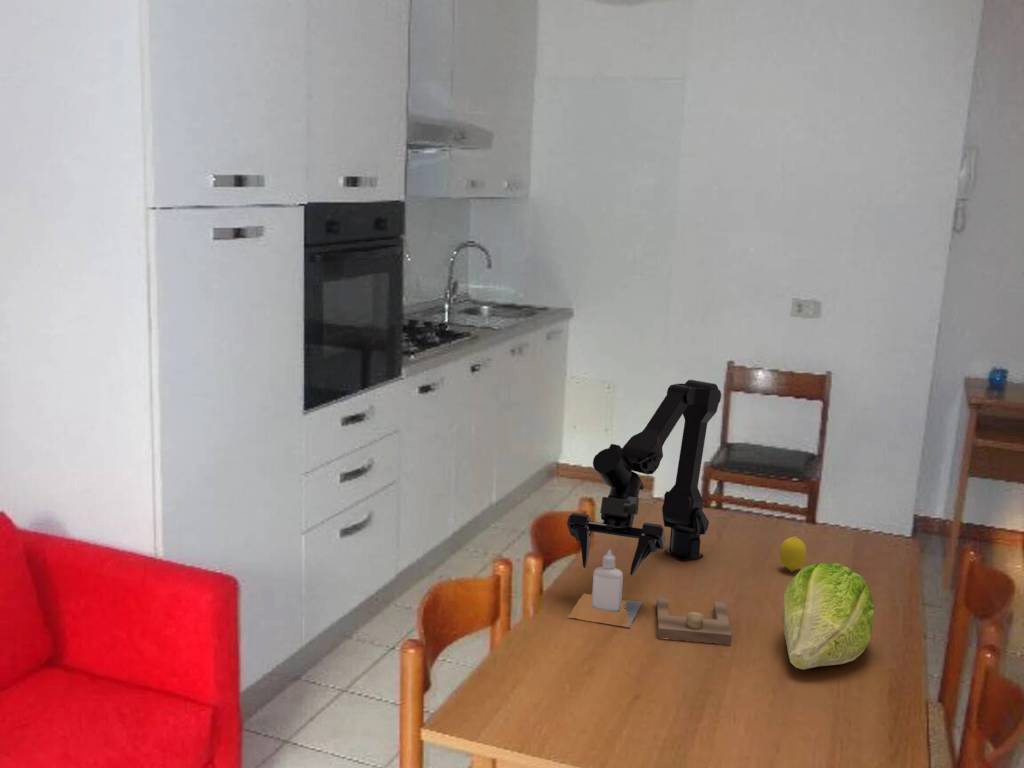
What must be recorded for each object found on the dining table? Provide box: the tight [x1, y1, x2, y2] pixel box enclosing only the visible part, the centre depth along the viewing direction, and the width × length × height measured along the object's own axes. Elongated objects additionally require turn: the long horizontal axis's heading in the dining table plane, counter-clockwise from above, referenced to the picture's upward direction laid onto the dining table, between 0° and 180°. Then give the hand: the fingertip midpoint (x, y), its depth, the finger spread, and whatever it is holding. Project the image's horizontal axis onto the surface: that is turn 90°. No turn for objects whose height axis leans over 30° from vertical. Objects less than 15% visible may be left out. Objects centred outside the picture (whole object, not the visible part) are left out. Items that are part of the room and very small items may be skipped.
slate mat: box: [623, 599, 643, 627], centre depth 191 cm, size 12×12×1 cm
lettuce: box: [782, 562, 875, 670], centre depth 176 cm, size 15×25×16 cm
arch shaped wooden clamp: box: [656, 595, 733, 646], centre depth 186 cm, size 15×13×4 cm
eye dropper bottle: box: [591, 548, 624, 612], centre depth 190 cm, size 4×6×12 cm
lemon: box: [779, 535, 807, 572], centre depth 214 cm, size 6×6×8 cm
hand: (607, 570), depth 189 cm, fingers open, 9 cm apart
